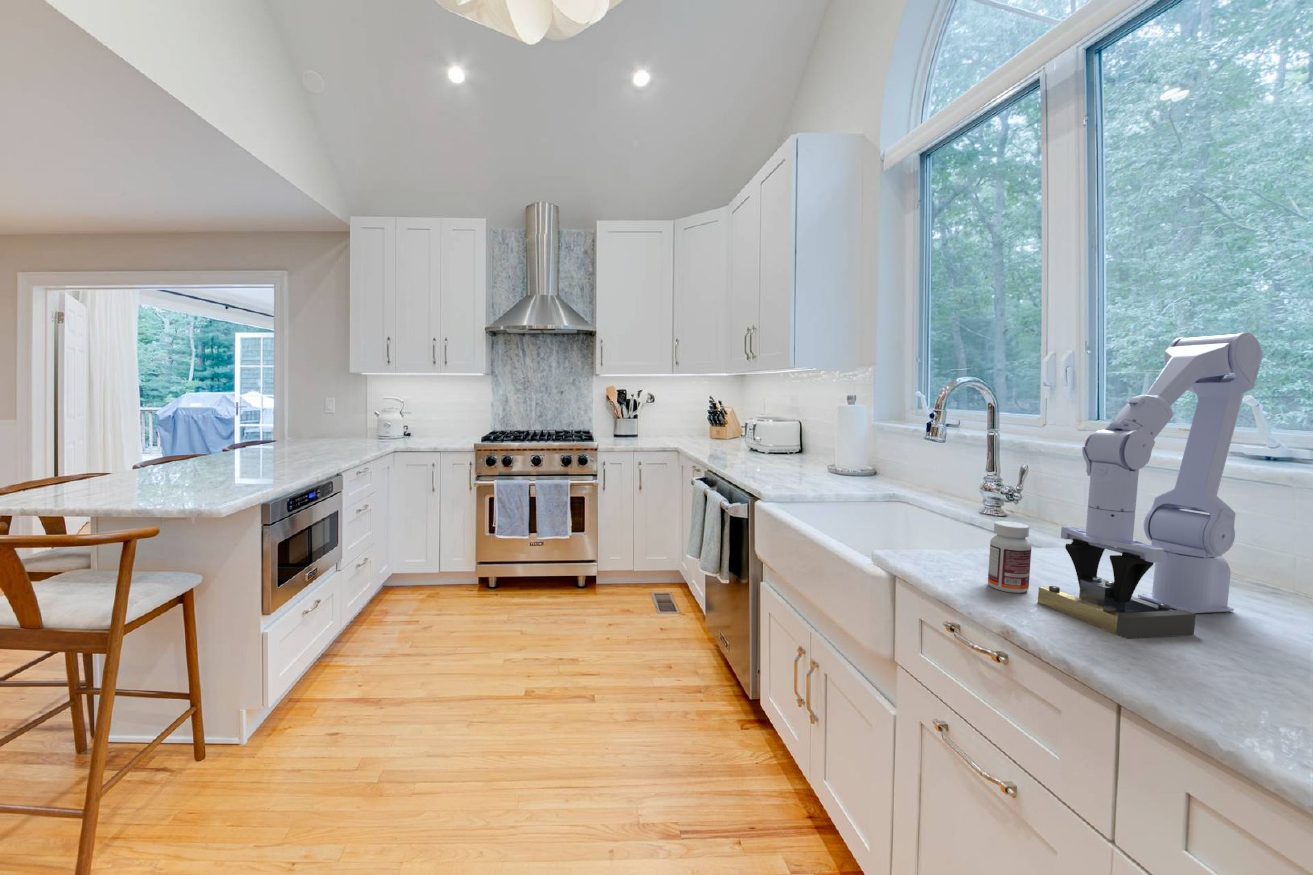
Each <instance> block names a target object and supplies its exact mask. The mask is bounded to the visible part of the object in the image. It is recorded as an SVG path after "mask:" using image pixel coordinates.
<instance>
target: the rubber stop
mask: <svg viewBox="0 0 1313 875" xmlns="http://www.w3.org/2000/svg"><path fill="white" fill-rule="evenodd" d="M1173 610H1174V611H1155V612H1136V613H1118V619H1117V631H1116V634H1115V635H1117V636H1120V637H1122V638H1123V639H1127V640H1133V639H1146V638H1147V639H1148V638H1161V637H1163V638H1164V637H1179V636H1180V637H1181V636H1193V635H1195V627H1196V626H1195V625H1196V619H1197V618H1196V616H1197V613H1191V612H1188V611H1185V610H1176V609H1173Z"/></svg>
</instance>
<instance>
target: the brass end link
mask: <svg viewBox="0 0 1313 875" xmlns="http://www.w3.org/2000/svg"><path fill="white" fill-rule="evenodd" d="M1037 591H1038V592H1037V595H1038V597H1037V602H1038V604H1041V605H1044V606H1047V607H1049V608H1051V609H1053V610H1056V611H1059V612H1061V613H1063V614H1066V615H1068V616H1071V617H1074V618H1075V619H1079V620H1080V621H1083V622H1085V623H1087V624H1090V625H1092V626H1095V627H1098V628H1099V629H1102V630H1104V631H1108V632H1110V633H1112V634H1115V635H1117V634H1116V631H1117V619H1118V612H1115V610H1116V608H1114V607H1111V606H1103V607H1102V606H1099V605H1096V604H1094V603H1091V602H1088V601H1085V600H1083V599H1080V598H1079V597H1078V596H1074V595H1072V594H1069V593H1067V592H1063V591H1061V588H1060V586H1056V585H1049V586H1039V587H1038V590H1037Z"/></svg>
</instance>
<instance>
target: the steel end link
mask: <svg viewBox="0 0 1313 875" xmlns="http://www.w3.org/2000/svg"><path fill="white" fill-rule="evenodd" d="M1174 610H1175V609H1173V608H1170V605H1168V604H1164V603H1155V602H1152V601H1149V600H1146V599H1143V598H1140V597H1136V596H1133V595H1132V597H1131V600H1130V602H1129V603H1125V613H1136V612H1155V611H1174Z"/></svg>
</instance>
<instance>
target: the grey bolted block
mask: <svg viewBox="0 0 1313 875" xmlns="http://www.w3.org/2000/svg"><path fill="white" fill-rule="evenodd" d="M1078 593H1079V596H1078V598H1080V599H1083V600H1085V601H1088V602H1091V603H1094V604H1096V605H1099V606H1102V607H1103V606H1111V607H1114V608H1116V610H1115V612H1118V613H1125V603H1117V602H1115V601H1114V581H1112V580H1111V581H1110V580H1107V579H1104V578H1102V577H1099V576H1097V577H1094V576H1093V577H1092V579H1081V581H1080V587H1079V592H1078Z"/></svg>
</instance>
